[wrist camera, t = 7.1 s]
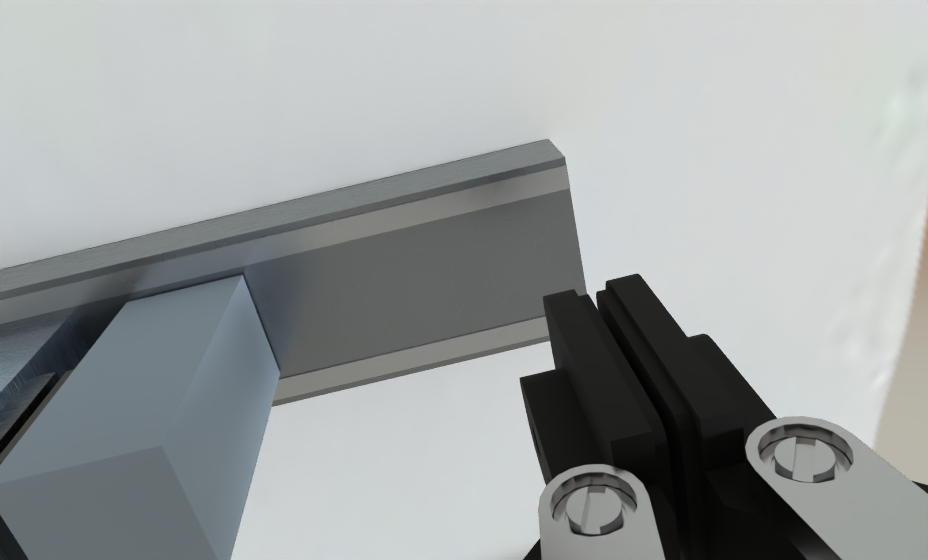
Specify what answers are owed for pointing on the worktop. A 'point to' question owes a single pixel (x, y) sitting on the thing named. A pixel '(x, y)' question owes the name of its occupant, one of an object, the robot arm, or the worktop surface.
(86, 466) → the block
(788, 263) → the worktop surface
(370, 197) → the rail
